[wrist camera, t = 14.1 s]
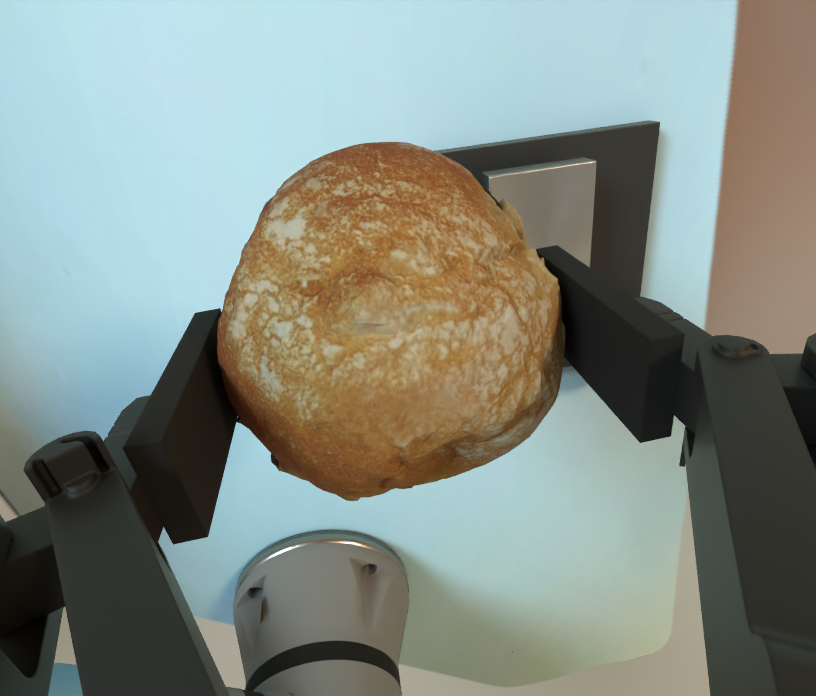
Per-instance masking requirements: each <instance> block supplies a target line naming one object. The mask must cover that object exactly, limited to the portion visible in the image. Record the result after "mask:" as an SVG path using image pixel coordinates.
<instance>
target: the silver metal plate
mask: <svg viewBox="0 0 816 696" xmlns="http://www.w3.org/2000/svg"><path fill="white" fill-rule="evenodd" d="M595 178H596V161H595V160H592V159H588V158H585V157H581V158H574V159H568V160H561V161H554V162H547V163H540V164H534V165H527V166H520V167H513V168H506V169H500V170H493V171H486V172H482V186H483V187H485V188H486V189H487V190H489V191H490V192H491V195H492V196H493V197H494V198H495V199H496V200H497V201H498V202H500V201H501V200H502V199H505V200H506V201H507V202H508V203H509V204H510V205H511V206H512V207H513V208H514V209H515V210H516V211H517V213H518V214H519V216H520V218H521V219H522V222H523V226H524V229H525V233H526V245H527V247H528V248H532V249H538V248H544V247H549V246H554V245H558V246H559V247H561V248H562V249H564V250H565V251H566V252H568V253H569V254H571V255H572V256H574V257H575V258H577V259H578V260H579V261H581V262H582V263H584V264H585V265H587V266H588V267H590V258H591V242H592V226H593V210H594V194H595Z"/></svg>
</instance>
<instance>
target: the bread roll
mask: <svg viewBox="0 0 816 696" xmlns="http://www.w3.org/2000/svg"><path fill="white" fill-rule="evenodd" d="M559 288H560V287H559V285H558V279H557V278H556V277H555V276H553V275H552V274H551V273H550V272H549V271H548V270H547V268H546V267H545V265H544V258H543V257H542V258H539V257H538V255H537V252H536V249H532V248H528V247H527V245H526V233H525V229H524V226H523V222H522V219H521V218H520V216H519V214H518V213H517V211H516V210H515V209H514V208H513V207H512V206H511V205H510V204H509V203H508V202H507V201H506V200H505V199H502V200H501V201H500V202H498V201H497V200H496V199H495V198H494V197H493V196H492V195H491V192H490V191H489V190H487V189H486V188H485V187H483V186H482V185H480V184H479V182H478V181H477V180H476V179H475V178H474V176H473V175H472V173H471V172H470V171H469V170H467V169H466V168H465V167H463V166H462V165H460V164H459V163H457V162H456V161H454V160H452V159H450V158H448V157H446V156H444V155H442V154H440V153H437V152H434V151H432V150H429V149H426V148H423V147H420V146H416V145H413V144H410V143H402V142H378V143H365V144H358V145H354V146H350V147H347V148H344V149H340V150H337V151H334V152H332V153H329V154H326V155H324V156H322V157H320V158H318V159H316V160H314V161H312V162H310V163H309V164H307V165H306V166H305V167H304V168H302V169H301V170H299V171H298V172H296V173H295V174H294V175H292V176H291V177H290V178H289V179H287V180H286V181H285V182H284V183H283V184H282V186H281V187H280V188H279V189H278V190H277V192H276V194H275V196H273V197H272V198H271V199H270V200H269V201H268V202H267V203H266V204H265V206H264V208H263V210H262V212H261V214H260V216H259V219H258V222H257V224H256V227H255V230H254V231H253V233H252V235H251V237H250V239H249V240H248V242H247V243H246V244H245V246H244V248H243V250H242V253H241V259H240V262H239V265H238V266H237V267H236V270H235V273H234V275H233V277H232V280H231V283H230V286H229V289H228V291H227V293H226V295H225V300H224V306H223V310H222V314H221V317H220V319H219V321H218V333H217V339H218V343H217V354H218V363H219V366H220V369H221V373H222V378H223V383H224V386H225V390H226V394H227V397H228V400H229V401H230V403H231V405H232V407H233V409H234V410H235V411H236V413H237V415H238V418H237V421H236V422H238V423H241V424H243V425H244V426H245V427H247V428H249V429H250V430H251V431H252V433H253V434H254V435H255V436H256V437H257V438H258V439H259V440H260V441H261V442H262V443H263V445H264V446H265V447H266V448H267V449H268V450H269V451H270V452H271V461H272V463H273V464H274V465H275V466H276V467H277V468H278V470H279V471H282V472H286V473H289V474H291V475H293V476H296V477H298V478H300V479H303V480H307V481H309V482H311V483H312V484H313V485H315V486H316V487H318V488H320V489H322V490H324V491H327V492H330V493H333V494H336V495H338V496H340V497H341V498H343V499H345V500H348V501H358V499H359V498H360V497H372V496H375V495H380V494H383V493H385V492H387V491H389V490H391V489H394V488H399V489H406V488H412V487H413V486H414V485H420V484H425V483H430V482H435V481H438V480H441V479H446V478H450V477H453V476H456V475H458V474H461V473H463V472H466V471H469V470H471V469H474V468H476V467H479V466H482V465H485V464H487V463H489V462H491V461H493V460H495V459H496V458H498V457H500V456H502V455H504V454H506V453H508V452H509V451H511V450H512V449H514V448H515V447H517V446H518V445H519V444H521V443H522V442H523V441H525V440H526V439H527V438H529V437H530V435H531V434H532V433H533V432H534V431H535V429H536V428H537V427H538V425H539V424H540V423H541V421H542V420H543V418H544V417H545V416H546V414H547V413H548V411H549V410H550V409H551V407H552V406H553V404H554V402H555V400H556V398H557V396H558V392H559V388H560V383H561V376H562V368H563V359H564V350H565V326H564V324H563V322H562V298H561V293H560V290H559Z"/></svg>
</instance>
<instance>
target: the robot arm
mask: <svg viewBox="0 0 816 696" xmlns="http://www.w3.org/2000/svg"><path fill="white" fill-rule="evenodd" d="M536 252H537V255H538V257H539V258H542V257H543V258H544V265H545V267H546V268H547V270H548V271H549V272H550V273H551V274H552V275H553V276H555V277H556V278H557V279H558V285H559V287H560V288H559V290H560V293H561V298H562V322H563V324H564V326H565V350H564V357H565V358H566V359H567V361H568V362H569V363H570V364H571V365H572V366H573V367H574V368H575V370H576V371H577V372H578V373H579V374H580V375H581V376H582V378H583V379H584V380H585V381H586V382H587V383H588V384H589V385H590V387H591V388H592V389H593V390H594V391H595V392H596V393H597V395H598V396H599V397H600V398H601V399H602V400H603V401H604V402H605V404H606V405H607V406H608V407H609V408H610V409H611V410H612V412H613V413H614V414H615V415H616V416H617V417H618V418H619V419H620V421H621V422H622V423H623V424H624V425H625V426H626V427H627V428H628V430H629V431H630V432H631V433H632V434H633V435H634V436H635V438H636V439H637V440H638V441H639V442H640V443H642V442H646V441H651V440H656V439H660V438H665V437H669V436H671V431H672V424H673V417H674V415H675V416H676V417H677V418H678V419H679V420H680V421H681V422H682V423H683V424H684V425H685V432H684V439H683V445H682V452H681V458H680V465H679V466H683V467H685V464H686V471H687V481H688V490H689V499H690V507H691V508H690V509H691V517H692V527H693V536H694V546H695V554H696V565H697V573H698V583H699V592H700V602H701V611H702V620H703V630H704V639H705V648H706V656H707V657H706V658H707V667H708V676H709V686H710V695H711V696H816V334H814V335H811V336H809V337H808V339H807V342H806V345H805V349H804V353H803V354H769V352H768V351H767V349H766V348H765V347H764V346H763V345H761V344H759V343H758V342H756V341H754V340H750V339H747V338H744V337H738V336H731V335H719V336H711V335H710V334H708V333H707V332H705V331H704V330H702V329H701V328H699V327H697V326H696V325H694V324H693V323H691V322H690V321H688V320H687V319H683V317H682V316H681V315H679V314H678V313H676V312H674V313H673V310H671V309H670V308H668V307H667V306H665V305H664V304H662V303H661V302H657V301H654V300H651V299H648V298H645V297H639V298H633V297H631V296H630V295H628V294H627V293H626V292H624V291H623V290H621V289H620V288H618V287H617V286H615V285H614V284H613V283H611V282H610V281H608V280H607V279H605V278H604V277H603V276H601V275H600V274H598V273H597V272H595V271H594V270H592V269H591V268H590V267H588V266H587V265H585V264H584V263H582V262H581V261H579V260H578V259H577V258H575V257H574V256H572V255H571V254H569V253H568V252H566V251H565V250H564V249H562V248H561V247H559V246H558V245H554V246H549V247H544V248H538V249H536ZM221 314H222V312H221V310H220V308H219V309H214V310H209V311H203V312H198V313H195V314H194V316H193V318H192V320H191V322H190V324H189V326H188V327H187V329H186V331H185V333H184V335H183V337H182V339H181V340H180V342H179V344H178V346H177V348H176V350H175V352H174V353H173V355H172V357H171V359H170V361H169V363H168V365H167V366H166V368H165V370H164V372H163V374H162V376H161V378H160V379H159V381H158V383H157V385H156V387H155V389H154V391H153V392H152V394H151V395H150V396H145V397H140V398H136V399H135V400H134V401H133V402H132V403H131V404H129V405H128V406H127V407H126V408H125V409H124V410H123V411H122V412H121V414H120V415H119V417H118V419H117V420H116V422H115V424H114V425H115V426H113V427H112V429H111V430H110V432H109V433H108V437H106V438H105V440H104V442H103V440H102V439H101V437H100V436H99V435H98V434H97V433H96V432H92V431H82V432H76V433H72V434H69V435H66V436H63V437H60V438H58V439H56V440H54V441H52V442H50V443H48V444H46V445H45V446H43V447H42V448H41V449H39V450H38V451H37V452H35V453H34V454H33V455H32V456H31V457H30V458H29V459H28V461H27V462H26V463H25V467H24V472H25V474H26V475H27V477H28V478H29V480H30V481H31V483H32V484H33V486H34V487H35V489H36V490H37V492H38V493H39V495H40V496H41V498H42V499H43V501H44V502H45V505H46V506H44V507H42V508H40V509H37V510H35V511H32V512H30V513H27V514H25V515H22V516H20V517H17V518H15V519H12V520H10V521H7V522H5V521H4V519H3V518H2V517H1V515H0V696H402V692H401V686H400V678H399V670H398V662H399V657H400V651H401V645H402V640H403V634H404V628H405V623H406V617H407V612H408V605H409V588H408V582H407V576H406V571H405V568H404V565H403V563H402V561H401V560H400V558H399V557H398V556H397V554H396V553H395V552H394V551H393V550H392V549H390V548H389V547H388V546H387V545H385V544H383V543H382V542H380V541H378V540H376V539H374V538H372V537H369V536H366V535H363V534H359V533H355V532H349V531H339V530H323V531H313V532H307V533H303V534H298V535H295V536H292V537H288V538H286V539H283V540H281V541H279V542H277V543H275V544H273V545H271V546H269V547H267V548H266V549H264V550H263V551H262V552H260V553H259V554H258V555H256V556H255V557H254V558H253V559H252V560H251V561H250V562H249V563H248V564H247V566H246V567H245V568H244V570H243V572H242V573H241V575H240V577H239V580H238V583H237V587H236V593H235V599H234V623H235V628H236V633H237V638H238V643H239V648H240V653H241V658H242V663H243V669H244V673H245V678H246V688H245V690H242V689H237V688H231V687H225V684H224V682H223V680H222V678H221V676H220V674H219V672H218V669H217V667H216V665H215V663H214V660H213V658H212V656H211V654H210V652H209V650H208V648H207V645H206V643H205V641H204V639H203V637H202V634H201V632H200V630H199V628H198V626H197V623H196V621H195V619H194V617H193V615H192V613H191V610H190V608H189V606H188V604H187V602H186V600H185V597H184V595H183V593H182V591H181V589H180V586H179V584H178V582H177V580H176V578H175V576H174V573H173V571H172V569H171V567H170V565H169V563H168V560H167V558H166V556H165V554H164V552H163V550H162V548H161V547H160V545H159V543H158V541H159V538H160V535H161V532H162V529H163V526H164V528H165V530H166V532H167V534H168V536H169V537H170V539H171V541H172V543H173V544H177V543H182V542H186V541H191V540H196V539H200V538H205V537H208V534H209V530H210V526H211V522H212V518H213V514H214V510H215V506H216V502H217V498H218V494H219V490H220V486H221V482H222V477H223V473H224V469H225V465H226V461H227V457H228V453H229V449H230V445H231V441H232V437H233V433H234V429H235V425H236V421H237V417H238V415H237V413H236V411H235V410H234V409H233V407H232V405H231V403H230V401H229V400H228V397H227V394H226V390H225V386H224V383H223V378H222V373H221V369H220V366H219V363H218V354H217V343H218V339H217V333H218V321H219V319H220V317H221ZM63 607H66V612H67V617H68V622H69V627H70V632H71V637H72V643H73V648H74V653H75V657H76V663H77V665H72V664H62V663H54V659H55V653H56V647H57V641H58V635H59V629H60V623H61V618H62V612H63Z"/></svg>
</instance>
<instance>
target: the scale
mask: <svg viewBox="0 0 816 696" xmlns="http://www.w3.org/2000/svg"><path fill="white" fill-rule="evenodd" d="M659 127H660V122H656V121H643V122H636V123H629V124H622V125H615V126H608V127H601V128H594V129H587V130H580V131H572V132H565V133H558V134H551V135H544V136H537V137H530V138H523V139H516V140H509V141H502V142H495V143H488V144H481V145H474V146H467V147H460V148H453V149H446V150H439V151H434V152H437V153H440V154H442V155H444V156H446V157H448V158H450V159H452V160H454V161H456V162H457V163H459V164H460V165H462V166H463V167H465V168H466V169H467V170H469V171H470V172H471V173H472V175H473V176H474V178H475V179H476V180H477V181H478V182H479V184H480V185H482V172H486V171H493V170H500V169H506V168H513V167H520V166H527V165H534V164H540V163H547V162H554V161H561V160H568V159H574V158H581V157H585V158H588V159H592V160H595V161H596V178H595V194H594V210H593V226H592V242H591V258H590V268H591V269H592V270H594V271H595V272H597V273H598V274H600V275H601V276H603V277H604V278H605V279H607V280H608V281H610V282H611V283H613V284H614V285H615V286H617V287H618V288H620V289H621V290H623V291H624V292H626V293H627V294H628V295H630V296H631V297H633V298H639V297H640V292H641V283H642V274H643V266H644V257H645V248H646V240H647V231H648V222H649V214H650V205H651V196H652V188H653V179H654V170H655V162H656V153H657V144H658V136H659ZM568 366H572V365H571V364H570V363H569V362H568V361H567V359H566V358H565V357H564V359H563V367H568Z"/></svg>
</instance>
